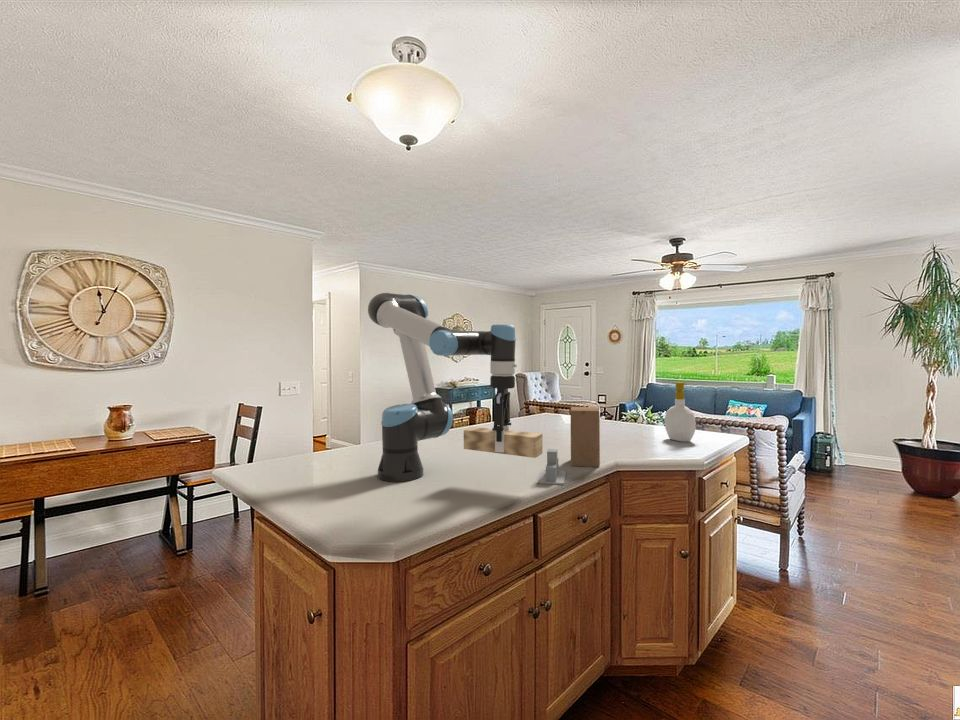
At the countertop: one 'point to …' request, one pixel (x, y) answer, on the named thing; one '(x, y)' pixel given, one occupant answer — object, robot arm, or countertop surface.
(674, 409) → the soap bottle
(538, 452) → the beam
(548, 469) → the bracket
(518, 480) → the countertop surface
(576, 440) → the wooden block
